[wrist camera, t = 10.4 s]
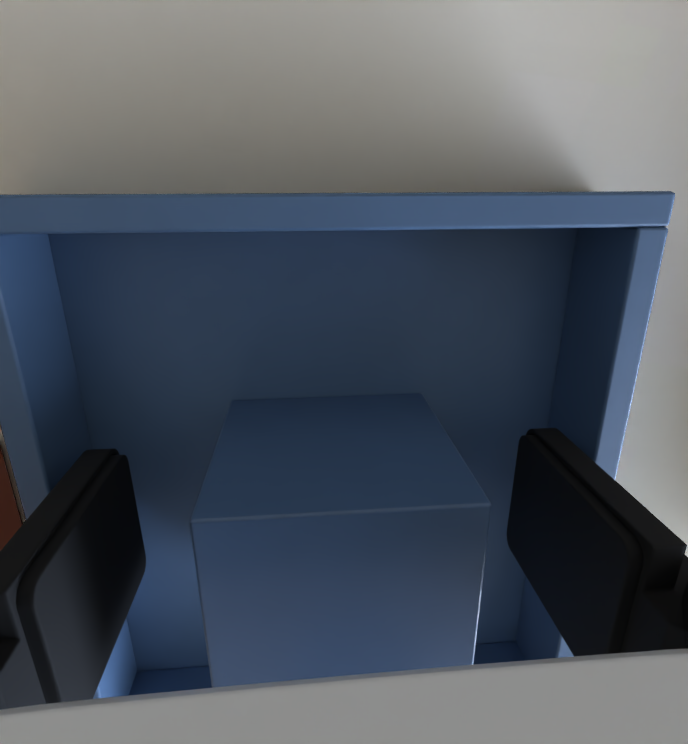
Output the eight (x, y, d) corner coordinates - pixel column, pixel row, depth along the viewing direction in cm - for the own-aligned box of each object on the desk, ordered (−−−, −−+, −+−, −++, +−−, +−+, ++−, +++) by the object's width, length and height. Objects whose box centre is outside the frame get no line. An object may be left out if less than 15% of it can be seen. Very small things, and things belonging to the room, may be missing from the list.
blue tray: (20, 196, 10) (-65, 195, 7) (598, 193, 11) (677, 191, 8) (124, 674, 14) (91, 764, 12) (526, 642, 15) (565, 719, 13)
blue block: (231, 399, 11) (188, 521, 7) (422, 392, 11) (493, 503, 7) (245, 557, 13) (218, 737, 8) (414, 546, 13) (468, 713, 9)
